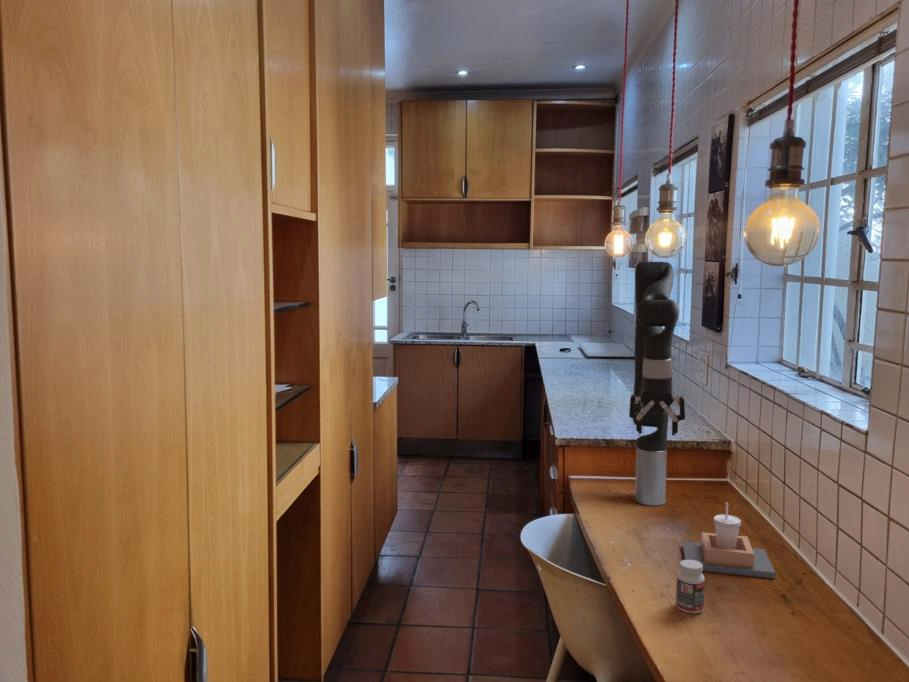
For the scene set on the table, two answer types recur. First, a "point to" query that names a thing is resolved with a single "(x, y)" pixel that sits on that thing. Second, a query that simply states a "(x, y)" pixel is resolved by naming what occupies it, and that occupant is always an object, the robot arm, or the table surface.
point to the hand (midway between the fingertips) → (656, 433)
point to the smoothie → (726, 530)
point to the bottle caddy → (729, 557)
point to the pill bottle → (690, 587)
